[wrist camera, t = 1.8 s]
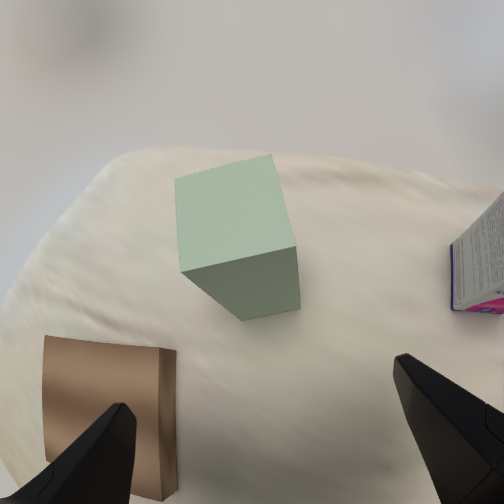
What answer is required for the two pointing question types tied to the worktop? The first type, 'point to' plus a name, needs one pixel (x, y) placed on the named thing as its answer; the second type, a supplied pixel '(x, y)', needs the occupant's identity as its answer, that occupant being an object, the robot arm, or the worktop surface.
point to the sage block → (238, 238)
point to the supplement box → (480, 263)
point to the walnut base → (108, 392)
